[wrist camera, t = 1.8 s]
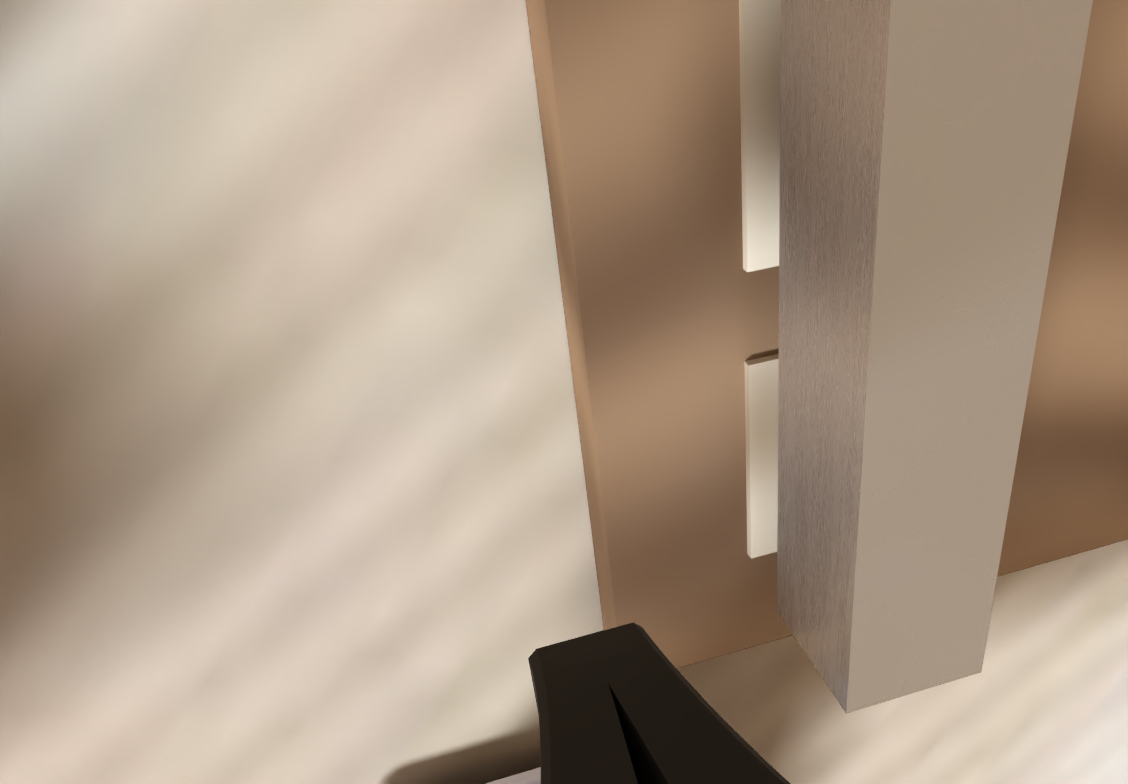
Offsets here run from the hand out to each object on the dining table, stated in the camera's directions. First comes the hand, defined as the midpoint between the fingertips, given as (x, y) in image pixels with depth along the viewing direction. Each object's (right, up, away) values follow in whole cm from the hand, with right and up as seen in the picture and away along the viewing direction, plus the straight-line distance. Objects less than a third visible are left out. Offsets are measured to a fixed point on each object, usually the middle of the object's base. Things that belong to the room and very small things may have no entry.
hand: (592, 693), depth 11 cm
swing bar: (+5, +7, +5) cm, 10 cm away
